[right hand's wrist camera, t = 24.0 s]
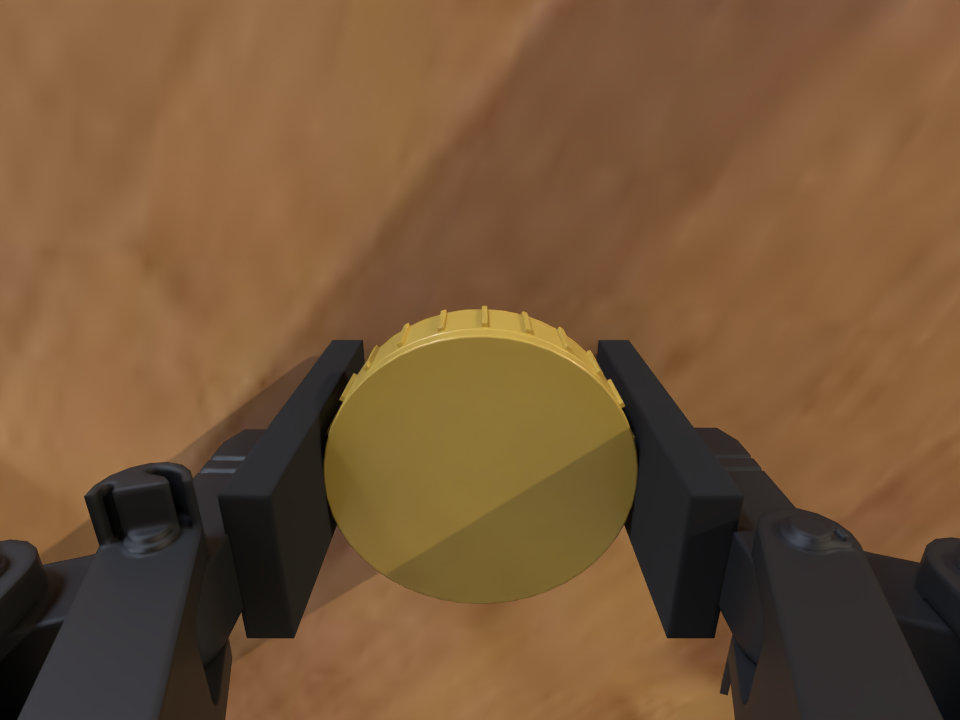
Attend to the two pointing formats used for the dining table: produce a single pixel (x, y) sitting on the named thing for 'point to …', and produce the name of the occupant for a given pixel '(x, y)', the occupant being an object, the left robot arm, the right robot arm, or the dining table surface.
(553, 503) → the lid
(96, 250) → the dining table surface
